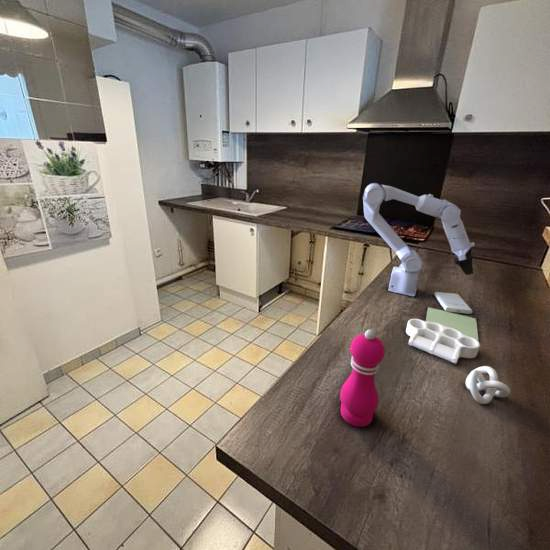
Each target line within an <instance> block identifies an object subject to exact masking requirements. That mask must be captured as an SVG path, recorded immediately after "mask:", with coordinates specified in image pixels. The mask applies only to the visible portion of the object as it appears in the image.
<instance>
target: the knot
mask: <svg viewBox="0 0 550 550" xmlns="http://www.w3.org/2000/svg"><path fill="white" fill-rule="evenodd" d="M483 374H488V375H489V380H486V378H485V376H484V375H483ZM465 386H466V389H468V390H469V391H470V393H471V395H472V397H473V399H474V400H475V401H476V402H477V403H479V404H482V405H487V404H489V403H491V401H492V400H493V399H494V397H495V398H496V397H498V398H506V397H509V396H510V394H511V389H510V387H509V386H508V385H507V384H506V383H504V382H501V381H499V375H498V372H497V371H496V369H494V368H493V367H491V366H488V365H483V366H479V367H477V368H475V369H472V370H471V371H470V373H468V375H467V377H466V379H465ZM480 391H484V392H485V393H484V395H483V396H482V395H481V393H480Z"/></svg>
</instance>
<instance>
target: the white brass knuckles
mask: <svg viewBox="0 0 550 550" xmlns="http://www.w3.org/2000/svg"><path fill="white" fill-rule="evenodd" d="M405 333H406V335H407V336H409V339H408V342H407V345H409V346H411V347H413V348H416V349H419V350H421V351H424V352H426V353H428V354H431V355H433V356H436V357H438V358H441V359H443V360H445V361H448V362H451V363H453V364H457V363H458V361H459V359H460V358H464V359H474V358H476V357H477V356H478V352H479V350H480V347H481V344H480V342H479V340H478V341H477V340H476V339H474V338H472V337H468V336H466V335H464V334H462V333H461V332H459V331H458V330H455V329H453V328H449V327H446V326H443V325H441V324H439V323H435V322H426V320H423V319H420V318H410V319H409V320H408V321H407V324H406V328H405Z"/></svg>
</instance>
